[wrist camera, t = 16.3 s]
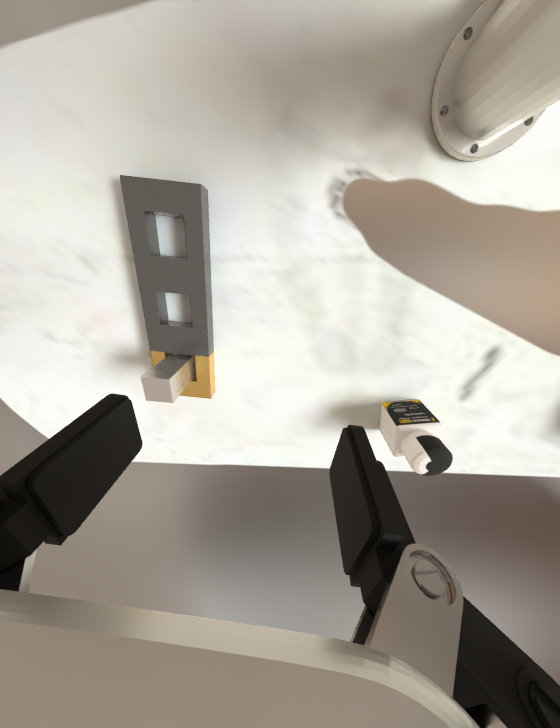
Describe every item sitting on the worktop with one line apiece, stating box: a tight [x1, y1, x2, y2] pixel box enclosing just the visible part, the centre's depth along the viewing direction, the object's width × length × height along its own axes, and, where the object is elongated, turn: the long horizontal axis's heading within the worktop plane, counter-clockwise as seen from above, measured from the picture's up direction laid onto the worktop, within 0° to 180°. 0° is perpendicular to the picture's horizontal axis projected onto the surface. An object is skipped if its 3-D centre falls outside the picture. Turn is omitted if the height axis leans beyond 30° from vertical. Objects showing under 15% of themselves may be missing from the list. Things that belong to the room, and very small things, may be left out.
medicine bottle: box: [380, 399, 453, 476], centre depth 38 cm, size 7×7×12 cm
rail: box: [120, 175, 215, 399], centre depth 34 cm, size 32×10×2 cm, turn 174°
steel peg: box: [141, 353, 196, 403], centre depth 35 cm, size 4×4×10 cm
